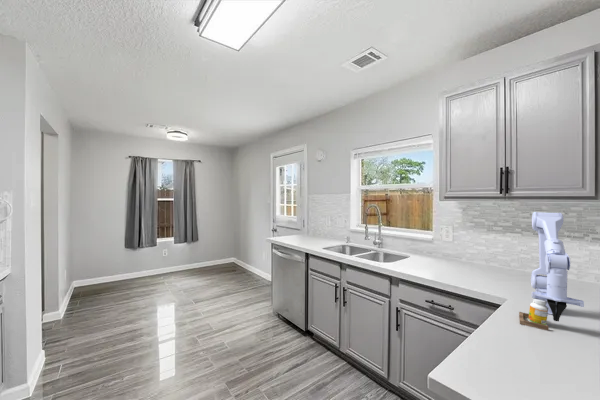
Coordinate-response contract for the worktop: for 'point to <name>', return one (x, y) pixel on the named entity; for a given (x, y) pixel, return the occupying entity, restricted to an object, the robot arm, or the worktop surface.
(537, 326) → the walnut stop
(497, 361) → the worktop surface
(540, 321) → the supplement bottle
